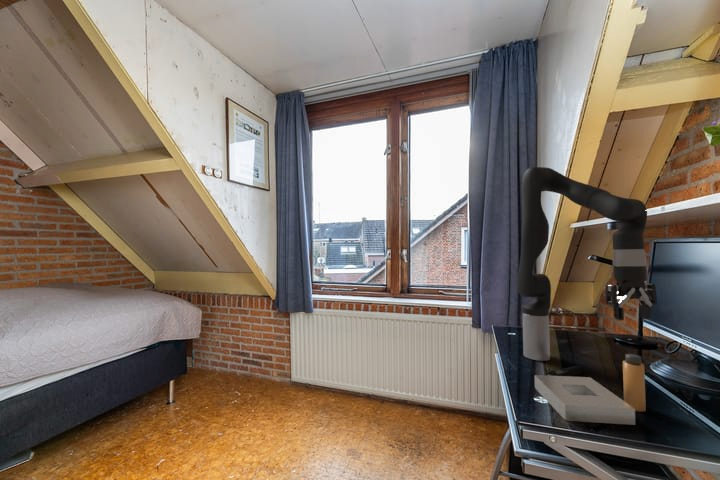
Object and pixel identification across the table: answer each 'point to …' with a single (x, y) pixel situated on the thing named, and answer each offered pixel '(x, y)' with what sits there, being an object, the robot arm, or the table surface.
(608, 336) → the table surface
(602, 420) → the grey square-holed plate
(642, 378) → the plug
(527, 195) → the robot arm
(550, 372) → the electric trimmer
